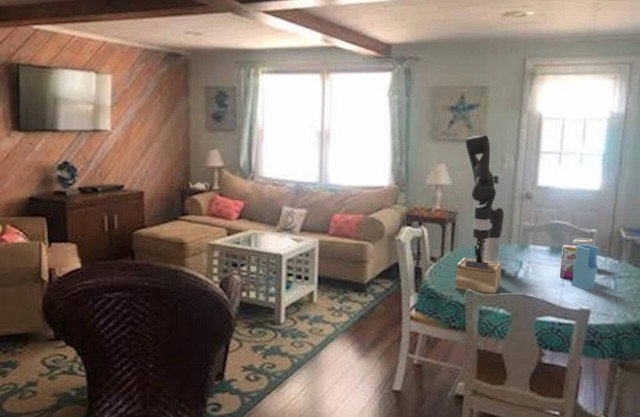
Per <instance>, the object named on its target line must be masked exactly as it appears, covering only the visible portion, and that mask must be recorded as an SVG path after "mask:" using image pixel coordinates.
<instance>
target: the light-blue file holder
mask: <svg viewBox="0 0 640 417" xmlns="http://www.w3.org/2000/svg"><path fill="white" fill-rule="evenodd" d="M576 249H577V257H576V260H575V262H574V264H573V279H572V281H571V283H570V285H571V286H572V287H575V288H577V289H580V290H584V291H587V290H592V289H595V279H596V278H595V277H596V276H597V272H598V270H599V268H598V264H597V256H598V253H599V251H600V249H601V248H600V247H598V246H595V245H593V246H591V245H586V244H583V245H577V246H576Z"/></svg>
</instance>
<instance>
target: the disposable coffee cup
mask: <svg viewBox="0 0 640 417" xmlns="http://www.w3.org/2000/svg"><path fill="white" fill-rule="evenodd" d="M583 244H586V245H591V246H595V243H594V239H592V238H574V239H573V240H572V246H577V245H583Z"/></svg>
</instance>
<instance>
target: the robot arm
mask: <svg viewBox="0 0 640 417" xmlns="http://www.w3.org/2000/svg"><path fill="white" fill-rule="evenodd" d="M465 146H466V151H467V154H468V157H469V161H470V165H471V169H472V175H473V181H474V185H473V187H472V188H473V189H472V191H471V192H472V193H471V197H472V199H473V200H474V201H475V202H476V201H477V202H478V205H476V206H475V208H474V221H473V227H472V228H473V229H472V230H473V231H472V237H473V238H475V239H476V241H475V246H474V251H475V252H474V255H475V256H476V257H477V259H476V261H477V262H481V258H482V252H483V251H484V260H485V261H493V262H498V263H499V262H500V249H501V235H502V230H503V224H504V223H503V222H504V215H505V214H504V210H503V208H501V207H497V206H493V204H494V203H493V202H494V200H495V197H496V194H497V191H496V189H495V183H494V178H493V174H492V172H491V171H490V158H491V157H490V155H491V154H490V153H491V152H490V151H491V147H490V146H491V145H490V139H489V137H488V135H487V134H482V135H474V136H471V137H470V136H469V137H467V138H466V140H465ZM481 154H482V155H481ZM477 155H481V157H480V159H479V158H478V157H477ZM478 252H479V253H478Z"/></svg>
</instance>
